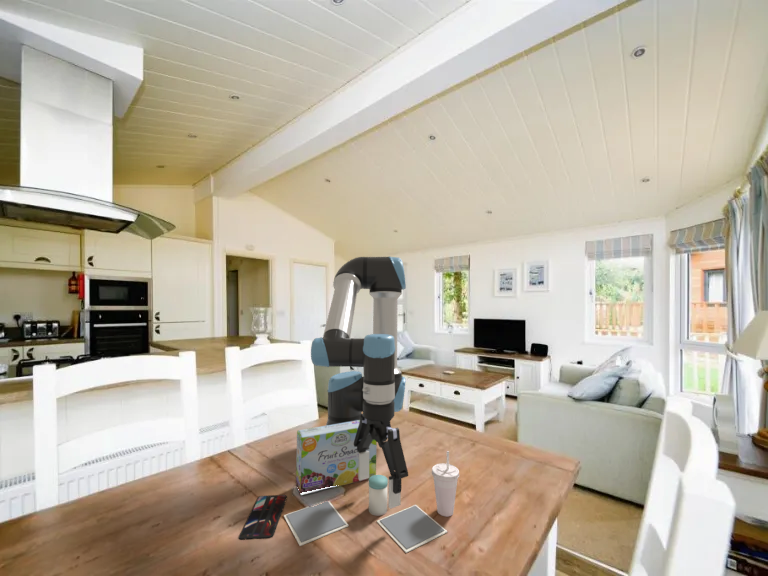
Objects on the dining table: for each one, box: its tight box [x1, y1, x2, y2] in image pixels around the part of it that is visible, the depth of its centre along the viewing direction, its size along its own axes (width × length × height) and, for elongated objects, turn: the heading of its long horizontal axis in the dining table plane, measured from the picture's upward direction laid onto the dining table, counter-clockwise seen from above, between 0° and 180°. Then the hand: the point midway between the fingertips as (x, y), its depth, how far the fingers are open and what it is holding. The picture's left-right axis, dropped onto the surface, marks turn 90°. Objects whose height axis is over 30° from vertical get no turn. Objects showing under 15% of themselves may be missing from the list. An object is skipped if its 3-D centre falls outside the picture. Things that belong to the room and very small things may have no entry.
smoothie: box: [431, 450, 460, 517], centre depth 80 cm, size 6×6×14 cm
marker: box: [368, 474, 389, 517], centre depth 80 cm, size 4×4×7 cm
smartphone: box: [238, 494, 288, 541], centre depth 78 cm, size 7×1×15 cm
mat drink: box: [376, 504, 448, 554], centre depth 74 cm, size 11×11×1 cm
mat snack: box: [283, 500, 349, 547], centre depth 76 cm, size 11×11×1 cm
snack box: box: [295, 420, 378, 494], centre depth 92 cm, size 21×6×15 cm, turn 117°
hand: (378, 491), depth 80 cm, fingers open, 13 cm apart
